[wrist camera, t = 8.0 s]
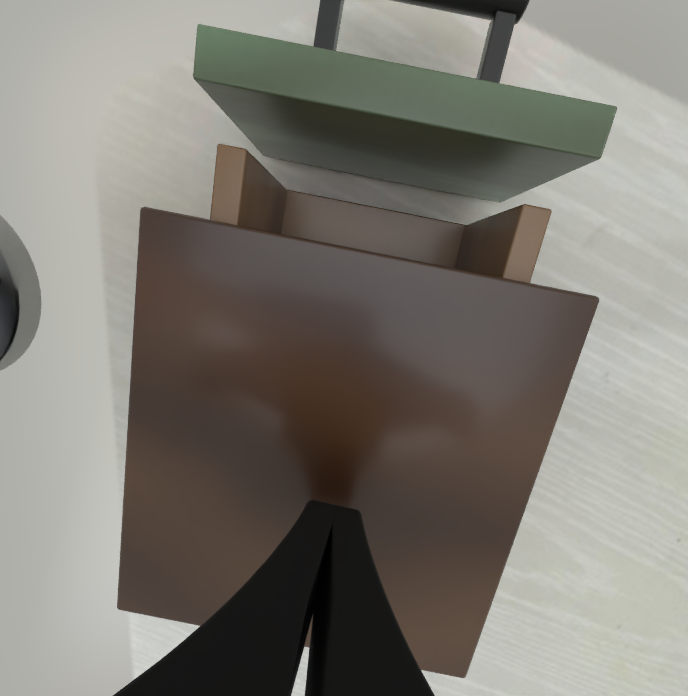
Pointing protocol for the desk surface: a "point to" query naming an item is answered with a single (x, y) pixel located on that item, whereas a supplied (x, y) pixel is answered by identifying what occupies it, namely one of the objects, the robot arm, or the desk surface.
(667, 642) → the desk surface
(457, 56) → the desk surface
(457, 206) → the desk surface
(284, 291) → the cabinet
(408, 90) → the drawer
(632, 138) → the desk surface
